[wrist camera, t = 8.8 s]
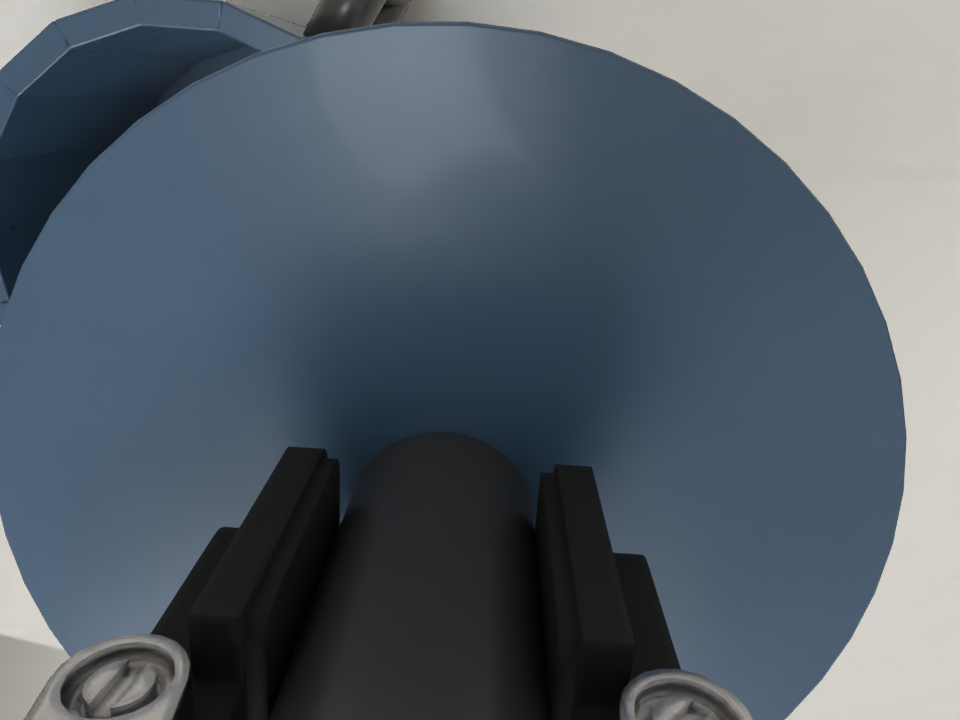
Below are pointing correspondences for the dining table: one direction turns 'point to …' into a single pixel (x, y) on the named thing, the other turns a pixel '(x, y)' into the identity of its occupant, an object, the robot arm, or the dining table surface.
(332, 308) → the teapot lid
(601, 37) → the dining table surface
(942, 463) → the dining table surface
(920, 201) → the dining table surface
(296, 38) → the teapot
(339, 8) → the teapot spout and handle
